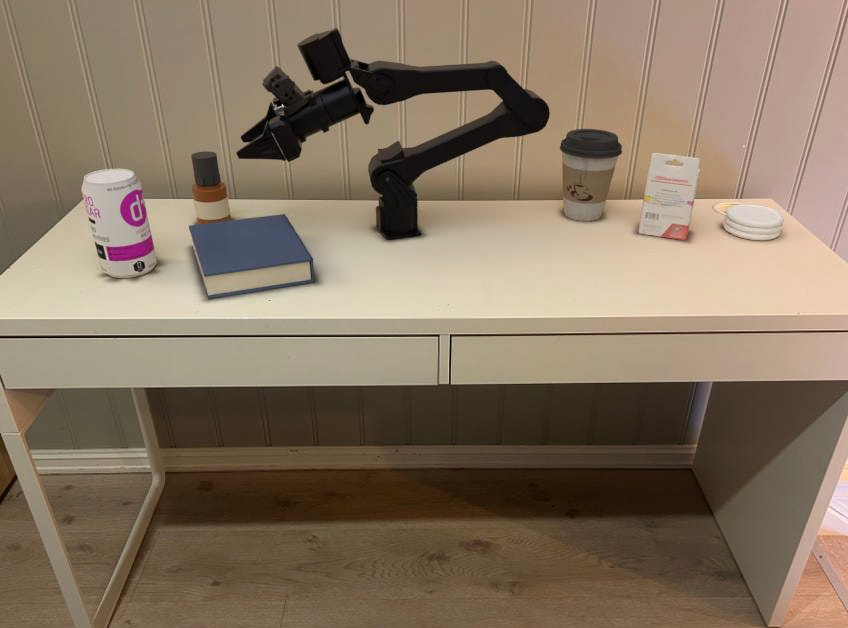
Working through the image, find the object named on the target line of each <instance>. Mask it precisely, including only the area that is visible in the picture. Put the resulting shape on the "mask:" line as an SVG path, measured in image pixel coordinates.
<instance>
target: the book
mask: <svg viewBox="0 0 848 628" xmlns="http://www.w3.org/2000/svg"><path fill="white" fill-rule="evenodd" d="M188 229H189V233H190V237H191V243H192V245H191V248H192V251H193V254H194V258H195V261H196V264H197V267H198V270H199V274H200V278H201V280H202V284H203V286H204V289H205V290H204V291H205V293H206V297H207V299H208V300H212V299H217V298H223V297H224V298H226V297H230V296H236V295H243V294H244V295H245V294H249V293H257V292H262V291H268V290H275V289H282V288H287V287H294V286H300V285H307V284H313V283H316V278H315V267H314V265H315V264H314V258H313V256H312V255H311V253H310V251H309V250H308V249H307V247H306V245H305V244H304V242H303V240H302V239H301V237H300V235H299V234H298V232H297V231H296V229H295V228H294V225H292V223H291V222H290V220H289V218H288V216H287V215H286V213H281V214H273V215H272V214H271V215H264V216H257V217H256V216H255V217H248V218H240V219H239V218H238V219H232V220H231V221H223V222H215V223H207V224H199V225H198V224H192V225H188Z"/></svg>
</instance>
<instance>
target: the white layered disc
mask: <svg viewBox="0 0 848 628" xmlns="http://www.w3.org/2000/svg"><path fill="white" fill-rule="evenodd" d="M784 222H785V217H784V215H783V214H782V213H781V212H779V211H778V210H776V209H773V208H771V207H768V206H764V205H758V204H751V203H749V204H748V203H742V204H740V203H739V204H735V205H731V206H730V207H728V208H726V211H725V216H724V220H723V225H722V226H723V228H724V230H725V231H726V232H728V233H729V234H731V235H732V236H735V237H738V238H741V239H745V240H750V241H771V240H774V239H776V238H778V237H780V235H781V233H782V229H783V223H784Z"/></svg>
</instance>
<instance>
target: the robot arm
mask: <svg viewBox="0 0 848 628" xmlns="http://www.w3.org/2000/svg"><path fill="white" fill-rule="evenodd" d="M296 46H297V48H298V50H299V53H300V55H301V57H302V59H303V61H304V63H305V65H306V68H307V69H308V71H309V73H310V75H311V76H310V77H312V79H313V81H314V82H316V81H319V82H320V84H322V85H327V86H325V87H323V88H320V89H319V90H316V91H314V90H311V89H307V90H306V91H303V90H302V89H301V88H300V87H299V86H298V85H297V84H296V82H295V80H293V79H291V78H290V75H288V74H286V72H284V71H283V70H282V69H281V67H279V66H278V65H276V66H274V68H273V69H272V70H271V71H270V72H269V73H268V74H267V75H266V76H265V77H264V78H263V80H262V86H263V88H264V89H265V90H266V91H267V92H268V93H271V94H272V95H273V98H272V101H270V102H269V105H268V108H267V111H266V115H265V116H264V117H262V118H261V119H260V120H259V121H257V122H256V123H255V124H254V125H252V126H251V128H249V129H248V130H247V131H245V132H244V133H243V134H241V135H240V140H241V141H242V142H243V143H247V144H246V145H244V146H242V147H241V148H240V149H238V150H237V151H236V152H235V154H236V156H237V158H238V159H239V160H274V161H275V160H276V161H277V160H278V161H282V162H285V161H287V163H290V162H292V161H295V160H297V159H299V158H300V157H301V153H302V151H303V143H306V142H307V138H308V137H311V136H313V135H316V134H317V133H319V132H323V134H325V133H328V132H329V131H330V127H333V126H335V125H337V124H339V123H342V122H344V121H346V120H349V119H350V118H353V117H355V116H357V115H360V117H361V119H362V121H363V123H364V124H365V125H367V126H368V125H369V124H370V122H371V121H370V120H371V117H372V115H373V113H374V112H375V108H374V106H373V105H371V104H368V102H367V101H366V98H365V96H364V94H363V92H362V90H361V88H362V89H363V90H364V92H365V94H366V96H367V97H368V99H369V100H370V101H372V102H373V103H374V104H375V105H378V106H388V105H392V104H397V103H400V102H405V101H407V100H409V99H411V98H414V97H417V96H421V95H427V94H441V93H443V94H444V93H460V92H474V91H475V92H476V91H493V92H494V93H495V94H496V95H497V97H499V98H500V99H501V100H502V101H500V102H499V103H498V105H497V106H496V107H494V108H493V109H492V111H490V112H489V113H488V114H485V115H483V116H481V117H478V118H477V119H474V120H471V121H469V122H467V123H465V124H462V125H461V126H458V127H456V128H454V129H451V130H449V131H447V132H444V133H443V134H440V135H438V136H436V137H433V138H431V139H429V140H426V141H425V142H422V143H420V144H418V145H415V146H412V147H402V144H401V141H400V140H397V141H395V142H393V143H392V144H390V145H389V146H387V147H383V148H377V153H376V154H374V155H373V156H371V158H370V160H369V163H368V165H367V166H368V167H367V172H368V177H369V179H370V180H369V181H370V185H371V187H372V188H373V190H374V192H375V193H377V194H378V195H381V196H378V198H377V199H378V205H376V206H375V223H376V224H375V227H376V229H377V230H378V231H379V232H380V233H381V234H382V236H384V238H385V239H386V240H393V239H402V238H408V237H415V236H420V235H422V231H421V229H419V228H418V227H419V225H418V224H419V222H418V221H419V220H418V216H419V215H418V213H419V212H418V211H419V210H418V209H419V208H418V201H419V199H418V193H417V191H416V187H415V185H414V183H415V182H416V180H418V179H419V177H421V176H422V175H423V174H424V173H426V172H427V171H430V170H432V169H435V168H436V167H438V166H441V165H443V164H445V163H448V162H449V161H452V160H454V159H456V158H458V157H461V156H463V155H465V154H468V153H470V152H473V151H474V150H477V149H480V148H482V147H484V146H487V145H488V144H491V143H492V142H495V141H497V140H499V139H505V138H520V137H523V136H524V137H525V136H527V135H531V134H536V133H539V132H540V131H543V130H544V129H545V128H546V127H547V124H548V122H549V120H550V115H551V111H550V107H549V105H548V103H547V102H546V101H545V100H544V99H543V98H542V97H541V96H539V95H538V94H537V93H536V92H534V91H533V90H530V89H527V88H523V86H521V85H520V84H519V83H518V82H517V80H515V78H514V77H512V75H510V74H509V72H508V70H507V69H506V68H505V66H504V65H502V64H501V63H500V62H498V61H496V60H489V61H486V62H476V63H475V62H474V63H459V64H458V63H457V64H441V65H428V66H427V65H426V66H416V65H411V64H406V63H401V62H394V61H387V60H375V61H372V62H370V63H368V62H364V61H360V60H357V59H352V58H350V56H349V53H348V51H347V49H346V47H345V45H344V42H343V38H342V35H341V33H340V30H339V28H338V27H334V28H332V29H331V30H326V31H322V32H320V33H318V32H316V33H314V34H312V35H310V36H308V37H306V38H304V39H303V40H301V41H300V42H298V43H297V45H296ZM347 72H349V74H350V76H351V78H352V80H353V83H354V84H356V85H357V86H358V87H353V85H352V83H351V81H350V78H349V76H348V74H347ZM341 78H342V79H341ZM339 79H340V80H339ZM335 81H336V82H335ZM360 87H361V88H360Z"/></svg>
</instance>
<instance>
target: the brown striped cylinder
mask: <svg viewBox="0 0 848 628" xmlns="http://www.w3.org/2000/svg"><path fill="white" fill-rule="evenodd" d="M191 192H192V200H193V205H194V206H193V207H194V211H195V216H196V222H197V225H199V224H207V223H215V222H223V221H231V219H232V218H231V209H230V203H229V202H230V201H229V195H228V191H227V184H226V183H225V182H223V181H221V182H220V183H218V184H216V185H211V186H201V185H197V184H196V183H194V184H192V185H191Z"/></svg>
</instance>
